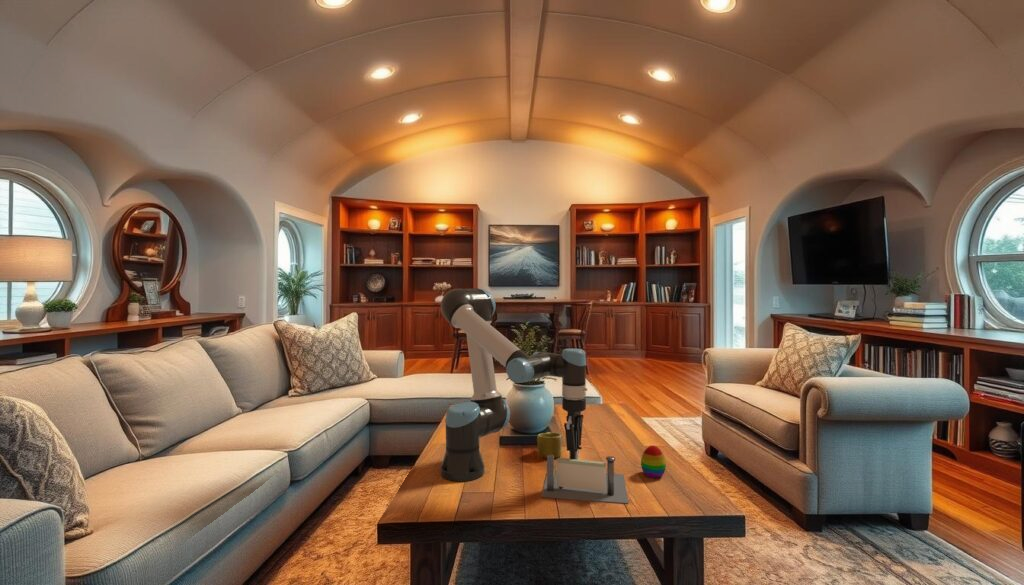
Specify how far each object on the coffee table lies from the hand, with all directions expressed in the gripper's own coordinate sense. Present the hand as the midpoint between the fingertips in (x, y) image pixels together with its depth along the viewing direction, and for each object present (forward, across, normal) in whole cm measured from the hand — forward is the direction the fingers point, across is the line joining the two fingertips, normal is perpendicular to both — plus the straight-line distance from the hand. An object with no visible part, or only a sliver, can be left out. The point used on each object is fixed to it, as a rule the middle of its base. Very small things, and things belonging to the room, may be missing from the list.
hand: (574, 470), depth 149 cm
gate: (+5, -3, -3) cm, 6 cm away
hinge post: (+6, -1, -12) cm, 13 cm away
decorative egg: (+6, +21, -21) cm, 31 cm away
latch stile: (+5, -6, +6) cm, 10 cm away
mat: (+6, +3, -3) cm, 7 cm away
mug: (+6, +25, +18) cm, 31 cm away
